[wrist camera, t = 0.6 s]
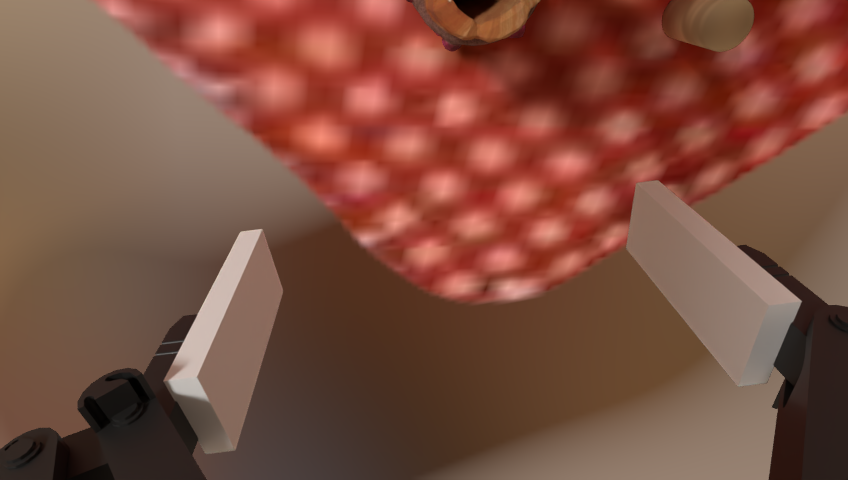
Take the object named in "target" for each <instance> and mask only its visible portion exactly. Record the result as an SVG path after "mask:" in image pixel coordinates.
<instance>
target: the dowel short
mask: <svg viewBox="0 0 848 480" xmlns="http://www.w3.org/2000/svg"><path fill="white" fill-rule="evenodd" d="M753 21H754V10H753V7H752V5H751V3H750V2H749V1H748V0H671V1H670V3H669V4H668V5H667V7H666V9H665V11H664V13H663V17H662V28H663V30H664V32H665V34H666V35H667V36H668V37H670V38H673V39H676V40H679V41H683V42H686V43H689V44H693V45H696V46H699V47H703V48H706V49H710V50H713V51H717V52H724V51H728V50H730V49H732V48H734V47H736V46H737V45H739V44H740V43H741V42H742V41H743V40H744V39H745V38H746V36H747V35H748V33H749V32H750V30H751V28H752V25H753Z"/></svg>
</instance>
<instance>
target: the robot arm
mask: <svg viewBox="0 0 848 480" xmlns="http://www.w3.org/2000/svg"><path fill="white" fill-rule="evenodd" d="M626 249H627V250H628V251H629V253H630V254H631V255H632V256H633V258H634V259H635V260H636V261H637V263H638V264H639V265H640V266H641V268H642V269H643V270H644V271H645V272H646V274H647V275H648V276H649V277H650V278H651V280H652V281H653V282H654V283H655V285H656V286H657V287H658V289H659V290H660V291H661V292H662V294H663V295H664V296H665V297H666V299H667V300H668V301H669V302H670V303H671V305H672V306H673V307H674V308H675V309H676V311H677V312H678V313H679V315H680V316H681V317H682V318H683V319H684V321H685V322H686V323H687V324H688V326H689V327H690V328H691V329H692V330H693V332H694V333H695V334H696V335H697V337H698V338H699V339H700V341H701V342H702V343H703V344H704V345H705V347H706V348H707V349H708V350H709V352H710V353H711V354H712V355H713V357H714V358H715V359H716V360H717V362H718V363H719V364H720V365H721V366H722V368H723V369H724V370H725V372H726V373H727V374H728V375H729V376H730V378H731V379H732V380H733V381H734V383H735V384H736V385H737V386H738V387H741V386H748V385H756V384H764V383H767V382H768V380H769V377H770V375H771V373H772V370H773V368H774V366H775V367H776V368H777V370H778V371H779V372H780V373H781V374H782V375H783V376H784V377H785V380H784V382H783V384H782V386H781V388H780V391H779V393H778V395H777V397H776V399H775V402H774V404H773V406H772V407H773V408H775V409H778V413H777V420H776V429H775V436H774V444H773V451H772V459H771V466H770V474H769V480H848V307H845V306H839V305H828V304H827V303H825V302H824V301H823V300H822V299H820V298H819V297H818V296H817V295H815V294H814V293H813V292H812V291H810V290H809V289H808V288H806V287H805V286H804V285H803V284H802V283H800V282H799V281H798V280H796V279H795V278H794V277H793V276H789V273H788V272H787V271H785V270H784V269H783V268H781V267H778V264H777V263H775V262H774V261H773V260H772V259H770V258H769V257H767V255H765V254H764V253H762V252H760V251H757V250H755V249H753V248H751V247H748V246H747V245H740V246H736V245H734V244H733V243H732V242H731V241H730V240H728V239H727V238H726V237H725V236H724V235H723V234H721V233H720V232H719V231H718V230H717V229H715V228H714V227H713V226H712V225H711V224H710V223H708V222H707V221H706V220H704V218H702V217H701V216H700V215H699V214H698V213H696V212H695V211H694V210H693V209H692V208H690V207H689V206H688V205H687V204H686V203H685V202H683V201H682V200H681V199H680V198H679V197H677V196H676V195H675V194H674V193H673V192H671V191H670V190H669V189H668V188H667V187H666V186H664V185H663V184H662V183H661V182H660V181H658V180H655V181H647V182H639V183H636V188H635V194H634V201H633V207H632V213H631V220H630V226H629V233H628V239H627V246H626ZM282 293H283V289H282V286H281V283H280V280H279V277H278V274H277V271H276V268H275V265H274V262H273V259H272V256H271V253H270V250H269V248H268V244H267V241H266V238H265V235H264V233H263V230H262V229H260V230H251V231H243V232H240V234H239V236H238V238H237V240H236V241H235V243H234V245H233V247H232V249H231V251H230V253H229V255H228V257H227V259H226V261H225V263H224V265H223V267H222V269H221V270H220V273H219V274H218V276H217V278H216V280H215V282H214V284H213V286H212V288H211V290H210V292H209V294H208V296H207V298H206V300H205V302H204V303H203V305H202V307H201V309H200V311H199V313H198V314H196V315H187V316H183V317H182V318H181V319H180V320H179V321H178V322H177V323H175V324H174V325H173V326H172V327H171V328H170V329H169V331H168V333H167V334H166V336H165V338H164V340H163V341H162V345H160V347H159V348H158V350H157V352H156V356H154V357H153V359H152V361H151V362H150V364H149V366H148V368H147V369H146V371H145V373H144V375H143V374H142V373H141V372H139V371H138V370H137V369H131V368H125V369H120V370H116V371H113V372H111V373H108V374H106V375H104V376H102V377H101V378H99V379H98V380H96V381H95V382H93V383H92V384H91V385H90V386H89V387H88V388H87V389H86V390H85V391H84V392H83V393H82V395H81V397H80V398H79V400H78V410H79V412H80V413H81V414H82V416H83V417H84V418H85V420H86V421H87V422H88V423H89V425H90V426H91V427H90V428H88V429H85V430H82V431H80V432H77V433H74V434H72V435H69V436H66V437H63V438H61V437H60V436H59V434H58V433H57V432H56V431H54V430H53V429H51V428H38V429H35V430H31V431H28V432H26V433H24V434H22V435H20V436H18V437H17V438H15V439H13V440H12V441H10V442H9V443H8V444H6V445H5V446H4V447H3V448H1V449H0V480H207V479H206V477H205V476H204V474H203V473H202V471H201V469H200V468H199V466H198V465H197V463H196V461H195V460H194V458H193V456H192V454H193V452H194V449H195V446H196V444H197V441H198V442H199V443H200V444H201V447H202V448H203V450H204V452H205V454H210V453H218V452H225V451H234V450H235V449H236V446H237V443H238V440H239V436H240V433H241V430H242V426H243V423H244V420H245V416H246V413H247V410H248V406H249V403H250V399H251V396H252V393H253V390H254V386H255V383H256V380H257V377H258V373H259V370H260V367H261V363H262V360H263V356H264V353H265V350H266V347H267V343H268V340H269V336H270V333H271V330H272V327H273V323H274V320H275V316H276V313H277V310H278V307H279V303H280V300H281V297H282Z"/></svg>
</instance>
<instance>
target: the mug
mask: <svg viewBox="0 0 848 480" xmlns="http://www.w3.org/2000/svg"><path fill="white" fill-rule="evenodd" d="M407 1H408V2H411V3H412V4H413V5H414V7H415V8H416V10H417V11H418V12H419V14H420V15H421V16H422V18H423V20H424V21H425V23H426V24H427V25H428V26H429V27H430V28H431V29H432V30H433V31H434V32H435V33H436V34H437V35H438V36H441V37H442V38H443V39H442V43H443V45H444V47H445V49H447V50H449V51H455V50H457V49H459V48H460V47H461V45H470V46H476V45H484V44H489V43H493V42H496V41H499V40H501V39H504V38H507V37H510V38H519V37H523V34H524V32H525V23H526V21H527V19H528V18H529V17H530V16H531V14H532V13H533V11H534V9H535V7H536V6H537V4H538V3H539V2H540V0H407Z"/></svg>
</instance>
